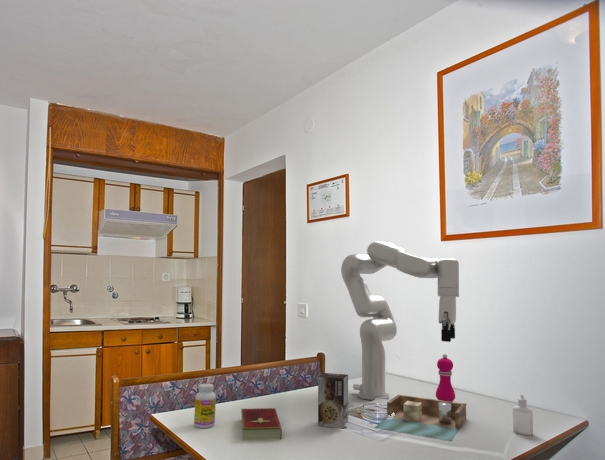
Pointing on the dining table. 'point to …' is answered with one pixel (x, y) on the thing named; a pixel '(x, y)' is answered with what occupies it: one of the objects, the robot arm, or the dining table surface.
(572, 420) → the dining table surface
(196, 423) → the supplement bottle
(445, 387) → the pepper mill
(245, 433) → the hardcover book
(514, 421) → the eye dropper bottle
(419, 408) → the birch block
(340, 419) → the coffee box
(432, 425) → the cubby
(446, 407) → the steel peg
